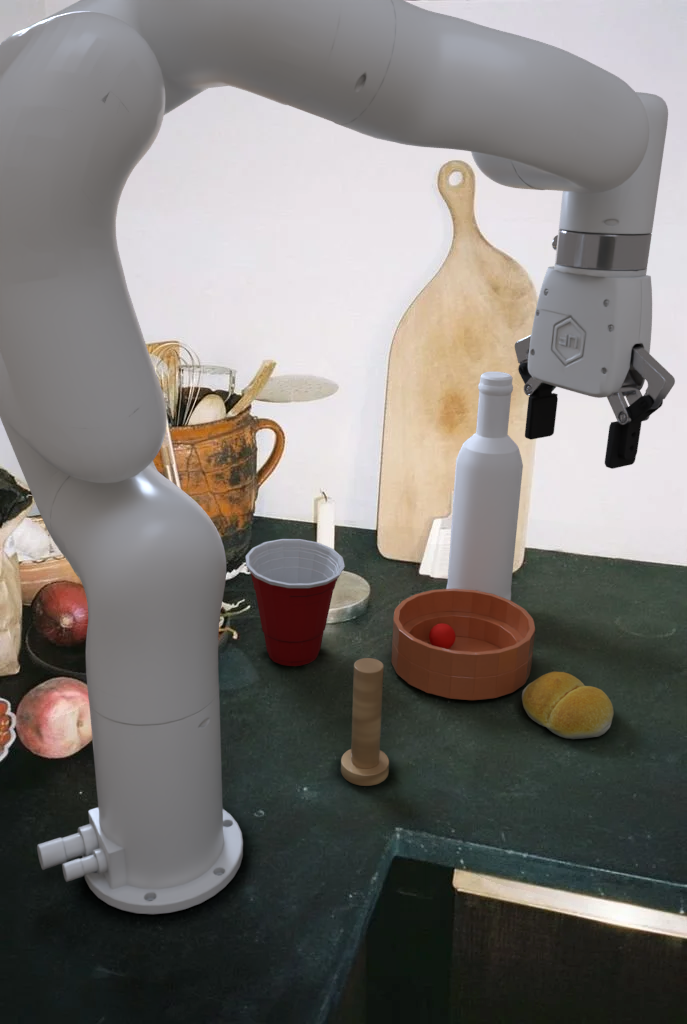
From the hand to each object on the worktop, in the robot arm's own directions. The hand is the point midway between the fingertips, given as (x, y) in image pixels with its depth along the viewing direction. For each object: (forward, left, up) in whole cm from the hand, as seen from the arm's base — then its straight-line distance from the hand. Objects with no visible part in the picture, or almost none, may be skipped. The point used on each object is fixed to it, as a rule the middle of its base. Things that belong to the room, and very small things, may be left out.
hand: (577, 450), depth 84 cm
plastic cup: (-16, +24, -29) cm, 41 cm away
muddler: (-20, +2, -29) cm, 35 cm away
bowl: (-1, +13, -29) cm, 31 cm away
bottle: (+9, +23, -29) cm, 38 cm away
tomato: (-1, +16, -27) cm, 31 cm away
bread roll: (+2, 0, -29) cm, 29 cm away
